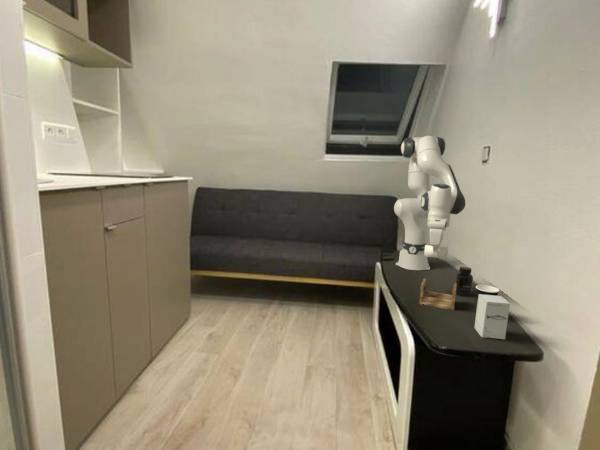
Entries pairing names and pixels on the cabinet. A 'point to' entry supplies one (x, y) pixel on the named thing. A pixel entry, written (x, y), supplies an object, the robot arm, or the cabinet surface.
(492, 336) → the supplement box
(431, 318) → the cabinet surface
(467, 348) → the cabinet surface
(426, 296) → the holder
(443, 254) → the paper roll
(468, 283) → the supplement bottle
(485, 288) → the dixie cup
